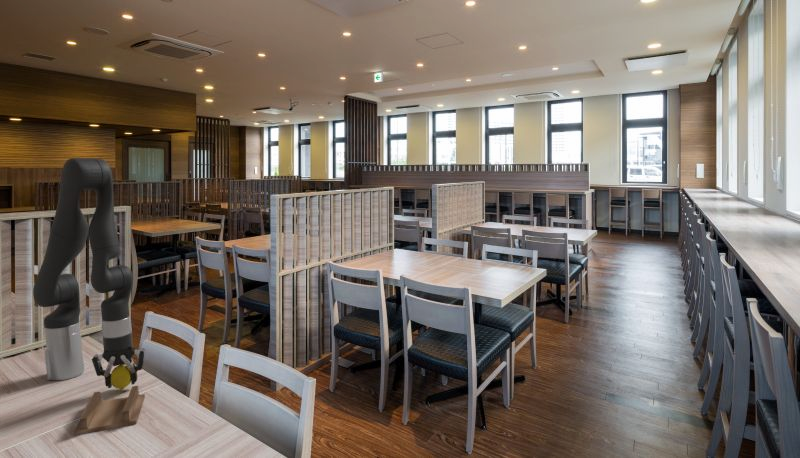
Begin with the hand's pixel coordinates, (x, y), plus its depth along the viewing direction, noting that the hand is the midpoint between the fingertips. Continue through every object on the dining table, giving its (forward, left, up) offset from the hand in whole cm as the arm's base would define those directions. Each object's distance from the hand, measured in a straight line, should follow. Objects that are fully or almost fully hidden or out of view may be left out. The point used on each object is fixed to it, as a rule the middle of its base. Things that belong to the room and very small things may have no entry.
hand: (121, 384), depth 140 cm
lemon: (0, 0, -2) cm, 2 cm away
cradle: (0, -15, -2) cm, 15 cm away
